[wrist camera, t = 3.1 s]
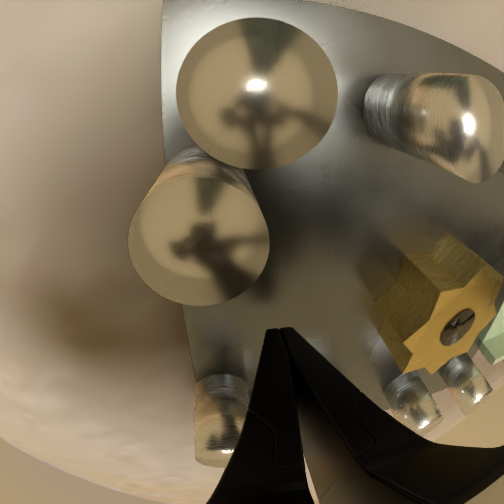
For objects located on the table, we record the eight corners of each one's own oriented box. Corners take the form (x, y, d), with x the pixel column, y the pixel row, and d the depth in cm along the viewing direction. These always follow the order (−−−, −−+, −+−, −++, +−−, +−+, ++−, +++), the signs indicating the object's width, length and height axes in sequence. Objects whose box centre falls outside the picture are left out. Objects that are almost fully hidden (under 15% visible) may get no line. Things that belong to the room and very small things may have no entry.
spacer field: (544, 106, 8) (601, 126, 4) (451, 379, 17) (474, 417, 14) (159, 6, 6) (120, -57, 2) (206, 431, 15) (210, 490, 12)
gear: (485, 232, 10) (522, 259, 8) (447, 328, 13) (471, 360, 11) (391, 235, 9) (431, 273, 7) (358, 350, 12) (379, 392, 10)
